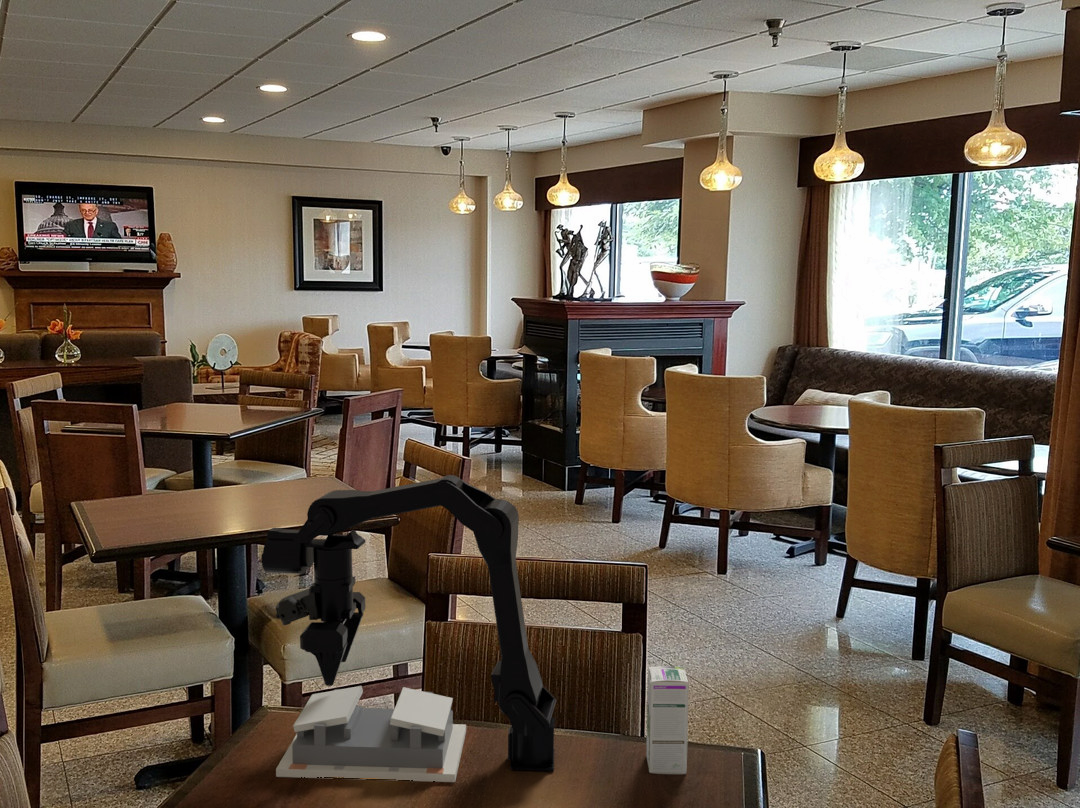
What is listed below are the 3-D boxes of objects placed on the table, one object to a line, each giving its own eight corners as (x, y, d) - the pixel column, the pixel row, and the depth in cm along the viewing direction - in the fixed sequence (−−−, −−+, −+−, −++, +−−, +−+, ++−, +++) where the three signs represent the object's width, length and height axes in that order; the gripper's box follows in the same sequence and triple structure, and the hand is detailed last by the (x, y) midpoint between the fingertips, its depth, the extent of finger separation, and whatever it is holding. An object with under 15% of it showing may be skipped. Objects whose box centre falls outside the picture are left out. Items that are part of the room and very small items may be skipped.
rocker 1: (363, 695, 155) (361, 685, 155) (348, 726, 144) (346, 716, 144) (314, 703, 155) (312, 694, 155) (295, 736, 144) (293, 725, 144)
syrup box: (687, 775, 145) (691, 681, 144) (647, 774, 146) (650, 680, 144) (682, 756, 151) (686, 666, 149) (644, 755, 151) (647, 665, 149)
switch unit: (466, 731, 158) (466, 688, 157) (455, 782, 142) (455, 734, 141) (305, 726, 159) (304, 684, 158) (276, 776, 143) (275, 729, 142)
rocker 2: (450, 707, 155) (453, 698, 155) (442, 740, 144) (444, 730, 144) (401, 696, 155) (403, 687, 155) (388, 728, 144) (391, 718, 144)
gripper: (296, 557, 159) (299, 650, 161) (262, 594, 140) (266, 698, 142) (364, 557, 159) (367, 650, 161) (340, 594, 140) (343, 698, 142)
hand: (336, 673), depth 152 cm, fingers open, 9 cm apart
